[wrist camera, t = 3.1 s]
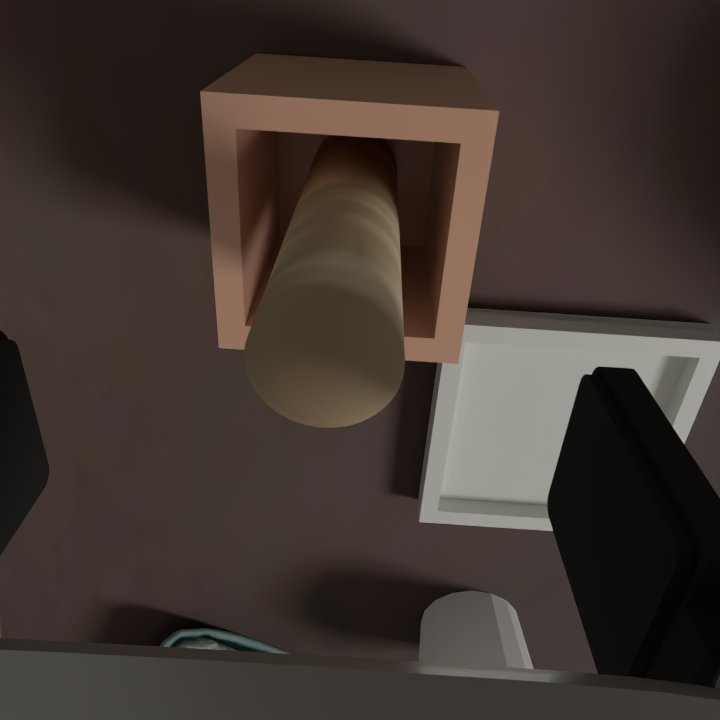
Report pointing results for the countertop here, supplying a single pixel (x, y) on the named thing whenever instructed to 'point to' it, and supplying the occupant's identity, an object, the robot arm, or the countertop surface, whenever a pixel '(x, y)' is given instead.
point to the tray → (540, 404)
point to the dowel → (335, 293)
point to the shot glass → (473, 632)
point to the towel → (217, 641)
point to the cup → (294, 160)
